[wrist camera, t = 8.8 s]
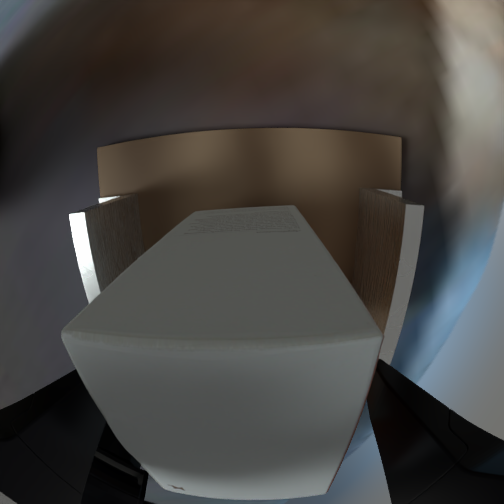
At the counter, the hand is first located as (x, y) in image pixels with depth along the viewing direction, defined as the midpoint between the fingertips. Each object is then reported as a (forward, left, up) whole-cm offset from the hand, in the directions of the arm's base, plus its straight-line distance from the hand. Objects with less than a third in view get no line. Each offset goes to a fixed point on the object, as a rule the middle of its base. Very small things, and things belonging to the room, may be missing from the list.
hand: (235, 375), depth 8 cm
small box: (0, 0, -10) cm, 10 cm away
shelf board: (0, 0, -11) cm, 11 cm away
